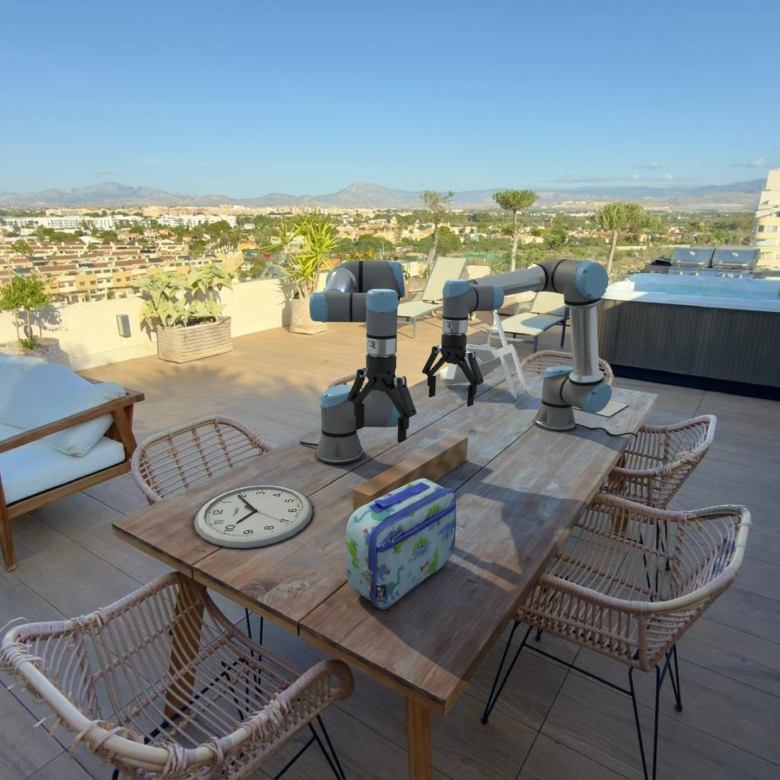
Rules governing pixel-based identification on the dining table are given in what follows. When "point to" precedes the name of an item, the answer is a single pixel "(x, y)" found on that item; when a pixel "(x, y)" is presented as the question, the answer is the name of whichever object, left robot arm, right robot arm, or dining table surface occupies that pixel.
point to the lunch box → (400, 540)
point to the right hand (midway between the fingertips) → (450, 400)
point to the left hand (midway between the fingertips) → (380, 434)
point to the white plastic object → (488, 362)
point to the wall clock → (253, 516)
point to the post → (415, 469)
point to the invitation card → (610, 408)
